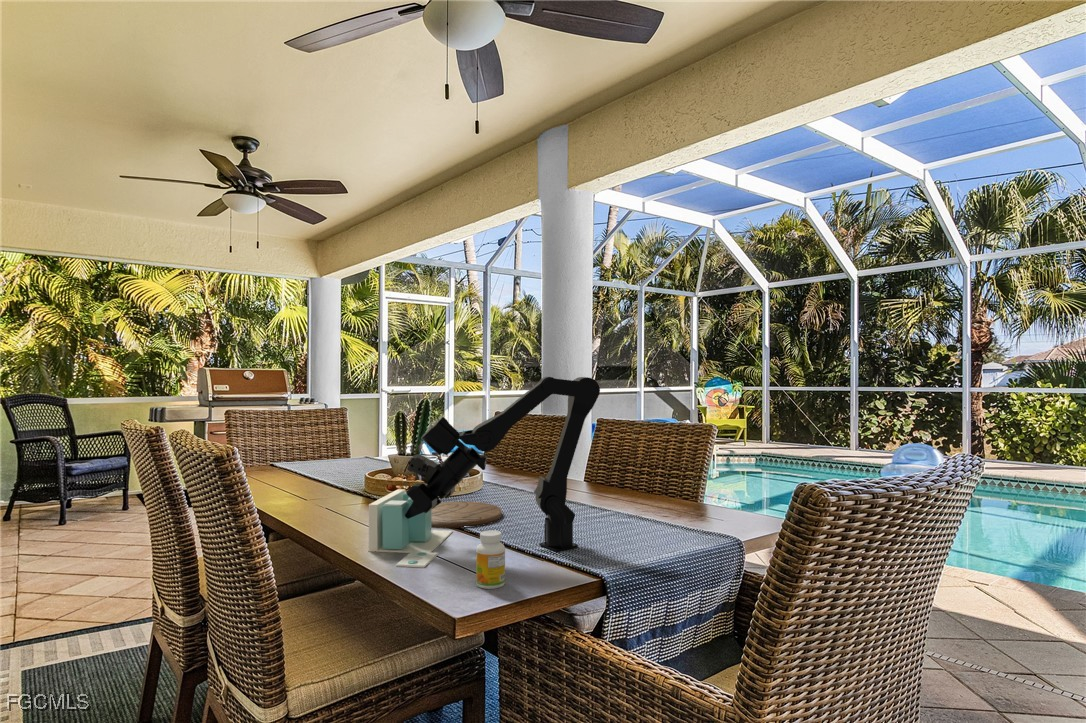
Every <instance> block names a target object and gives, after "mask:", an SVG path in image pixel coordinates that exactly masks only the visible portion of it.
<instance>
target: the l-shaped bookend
mask: <svg viewBox="0 0 1086 723" xmlns="http://www.w3.org/2000/svg"><path fill="white" fill-rule="evenodd" d="M405 492H407V491H406V489H401V488H399V489H396V490H394V491H392V492H390V493H388V494H386V495H384V496H382V497H381V498H378V499H377V500H375V501H372V502H371V503H369V504H368V552H375V551H376V552H378V553H381V552H382V553H400V554H402V553H404V554H405V553H407V554H409V553H410V552H428V553H433V551H434V550H435V549H436V548H438V546H440V545H441V544H442V543H443V542H444V541H445V540H446V539H447V538H448V537H449V536H451V534H452V533H453V532H454V531H453V530H435V529H433V530H432V529H431V537H430V538H429V539H428V540H427V541H426V542H417V541H409V544H408V545H407V546H405V547H404V548H403V549H383V506H384V504H385V503H387V502H389V501H391V500H395V501H403V494H405ZM376 552H375V553H376Z"/></svg>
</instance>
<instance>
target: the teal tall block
mask: <svg viewBox="0 0 1086 723" xmlns="http://www.w3.org/2000/svg"><path fill="white" fill-rule="evenodd" d="M408 509H409V502H408V501H395V500H391V501H389V502H387V503H385V504H384V506H383V549H403V548H404V547H405V546H407V545H408V544H409V519H407V518H406V517H405V514H406V513H407V511H408Z"/></svg>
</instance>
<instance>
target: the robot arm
mask: <svg viewBox="0 0 1086 723" xmlns="http://www.w3.org/2000/svg"><path fill="white" fill-rule="evenodd" d="M600 393H601V387H600V385H599V383H598V381H597V380H595V379H594V378H592V377H586V376H579V377H576V378H575V379H573V380H572V379H563V378H562V379H561V378H554V377H552V376H544V377H542V378H540V380H539V381H538V382H536V384H535V385H533V386H532V387H531V388H530V389H529V390H527V391H526V392H525V393H523V395H521V396H520V397H518V399H516V400H515V401H514V402H512V403H511V404H510V405H509V406H507V407H506V408H505V409H504V410H502V411H501V412H499V413H498V414H496V415H494V416H491V417H490V418H487V419H486V420H484V421H481V423H479V424H477V425H475V426H474V428H472V429H470V430H465V431H464V430H463V431H458V430H457V429H456V428H455V427H453V425H452V424H451V423H450V422H449V420H447V418H446V417H444V416H442V417H440V418H439V419H438V420H437V421H436V422H435V423H434V424H433V425H431V426H430V427H429V428H428V429H427V430H426V431H425V432H424V433H423V434H422V436H421V437H420V439H421V440H422V441H423V442H424V443H425V444H426V445H427V446H428V447H430V448H431V450H433V451H434V452H435V453H436V454H437V455H438V456H441V455H442V454H443V455H445V456H448V455H449V454H450V453H451V452H452V453H451V454H450V455H449V456H448V457H447V458H446V459H445V460H443V461H442V462H441V463H437V462H435V461H434V460H432V459H430V458H428V457H426V456H424V455H422V454H419V453H416V454H414V455H412V456H411V458H410V460H409V461H407V464H408V465H407V467H406V470H407V471H408V472H409V473H410V472H412V473H414V474H416V475H419V476H421V477H422V479H421V480H422V482H417V483H415V484H414V485H412V486H411V487H409V489H408V490H407V491H406V493H407V495H408V496H409V497H410V498H411V499H412V500H413V502H412V504H411V506H410V508H409V509H408V511H407V513H406V514H405V517H406V518H407V519H409V518H411V517H414V516H416V515H418V514H421V513H423V512H424V513H427V512H429V511H430V510H431V509H433V508H434V507H436V506H437V505H439V504H440V503H442V501H441V500H442V499H443V498H444V499H446V500H447V499H449V498H450V497H451V496H452V495H453V493H455V492H456V486H457V485H459V484H460V483H461V482H462V481H463V480H464V478H465V477H466V476H467V475H468V474H469V473H470V472H471V471H472V470H473V469H474V468H475V467H476V466H478V467H479V468H480V469H481V470H482V471H485V470H486V467H487V458H488V457H487V454H480V453H479V452H478V451H480V452H488V453H489V452H490V451H492V450H494V449H495V448H496V447H497V446H498V445H499V444H500V443H501V441H502V440H503V439H504V438H505V437H506V435H507V434H508V432H509V431H510V430H511V429H512V427H513V426H514V425H516V424H517V423H518V422H519V421H521V420H522V419H523V418H524V417H526V416H527V415H528V414H529V413H531V412H532V411H533V410H534V409H535V408H536V407H538V406H539V405H541V404H542V403H543V402H544V401H545V400H546V399H548V398H549V397H550V396H551V395H559V396H566V397H567V413H566V416H565V420H564V423H563V426H562V431H561V434H560V437H559V440H558V443H557V446H556V449H555V453H554V456H553V459H552V462H551V466H550V469H549V471H548V473H547V474H546V475H545V477H543V476H541V475H539V476H538V480H537V487H536V488H535V489H534V490H533V493H534V494H535V502H536V505H537V506H538V507H539V509H540V511H541V512H543V514H544V515H545V516H546V517H544V526H543V527H544V534H543V536H544V542H540V543H539V546H541V547H543V548H546V549H549V550H551V551H554V552H560V551H566V550H569V549H573V548H578V547H579V544H577V543H576V542H573V541H574V537H573V536H574V531H573V530H574V529H573V528H574V526H573V525H574V520H575V516H576V513H575V512H574V511H573V510H572V509H571V508H570V507H569V506H568V505H567V504H566V501H567V494H568V476H569V472H570V469H571V465H572V462H573V460H574V457H575V453H576V449H577V447H578V446H577V445H578V444H579V440H580V436H581V433H582V430H583V427H584V423H585V420H586V418H587V416H588V415H589V414H590V412H591V411H592V410H593V408H594V406H595V405H596V402H597V401H598V398H599V396H600ZM466 445H468V446H471V447H468V446H466ZM472 446H474V447H475V448H476V449H474V447H472ZM455 447H457V448H456V449H454V448H455ZM477 450H478V451H477ZM440 499H441V500H440Z"/></svg>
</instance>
